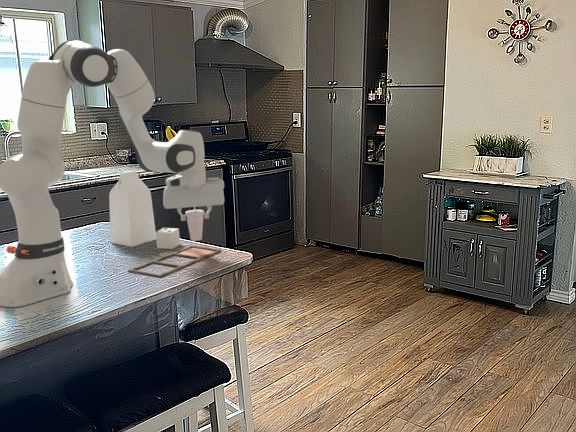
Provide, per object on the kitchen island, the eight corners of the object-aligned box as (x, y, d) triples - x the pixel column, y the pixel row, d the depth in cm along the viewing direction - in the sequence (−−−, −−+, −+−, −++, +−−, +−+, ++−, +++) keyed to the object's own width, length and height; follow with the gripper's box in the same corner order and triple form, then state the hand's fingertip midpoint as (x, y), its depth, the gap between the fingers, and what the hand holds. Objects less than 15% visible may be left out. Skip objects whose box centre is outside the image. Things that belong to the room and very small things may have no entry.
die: (172, 249, 203) (171, 232, 202) (157, 248, 204) (155, 231, 203) (179, 244, 209) (178, 228, 207) (164, 243, 210) (163, 227, 209)
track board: (160, 277, 172) (159, 275, 172) (128, 271, 178) (128, 269, 178) (221, 251, 198) (221, 249, 198) (191, 247, 204) (191, 245, 204)
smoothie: (206, 236, 199) (203, 196, 196) (205, 241, 193) (203, 200, 190) (187, 237, 198) (184, 197, 195) (186, 242, 192) (183, 201, 189)
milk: (135, 235, 223) (130, 168, 217) (156, 239, 216) (151, 170, 211) (110, 242, 213) (104, 172, 207) (131, 246, 207) (125, 174, 201)
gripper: (222, 175, 196) (224, 215, 199) (161, 179, 191) (164, 219, 194) (225, 178, 190) (227, 219, 193) (161, 182, 186) (165, 224, 189)
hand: (195, 219), depth 194 cm, fingers closed on smoothie, 6 cm apart
